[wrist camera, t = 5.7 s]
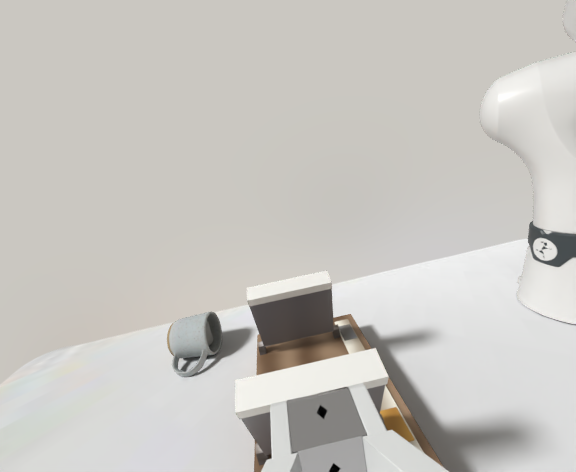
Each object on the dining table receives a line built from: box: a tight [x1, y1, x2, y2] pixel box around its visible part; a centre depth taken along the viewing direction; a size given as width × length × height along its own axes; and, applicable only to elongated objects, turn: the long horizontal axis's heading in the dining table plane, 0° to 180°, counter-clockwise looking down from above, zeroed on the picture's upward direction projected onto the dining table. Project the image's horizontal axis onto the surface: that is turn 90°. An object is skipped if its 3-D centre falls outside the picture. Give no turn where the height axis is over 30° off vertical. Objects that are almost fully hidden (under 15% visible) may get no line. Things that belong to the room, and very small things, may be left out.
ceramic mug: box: [167, 312, 222, 377], centre depth 50 cm, size 11×8×8 cm
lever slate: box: [247, 271, 334, 346], centre depth 38 cm, size 11×2×11 cm, turn 96°
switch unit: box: [254, 314, 443, 472], centre depth 35 cm, size 17×26×6 cm, turn 6°
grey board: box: [235, 348, 389, 456], centre depth 23 cm, size 11×2×11 cm, turn 96°
